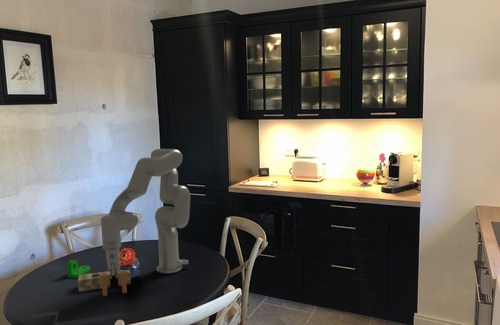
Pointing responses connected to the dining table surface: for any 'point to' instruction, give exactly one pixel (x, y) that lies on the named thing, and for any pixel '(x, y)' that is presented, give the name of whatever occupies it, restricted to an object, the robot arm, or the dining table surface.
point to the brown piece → (106, 281)
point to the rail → (96, 280)
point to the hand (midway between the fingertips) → (114, 285)
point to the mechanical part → (76, 269)
